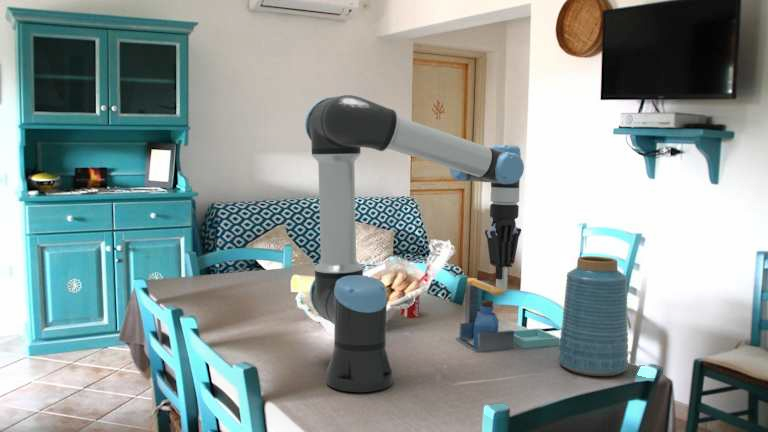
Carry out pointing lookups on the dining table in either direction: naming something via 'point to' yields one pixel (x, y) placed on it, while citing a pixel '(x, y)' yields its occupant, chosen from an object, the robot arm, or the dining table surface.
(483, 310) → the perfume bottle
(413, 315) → the beverage can
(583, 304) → the vase
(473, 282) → the bar
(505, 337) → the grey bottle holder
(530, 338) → the tray
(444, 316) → the dining table surface
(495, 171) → the robot arm
